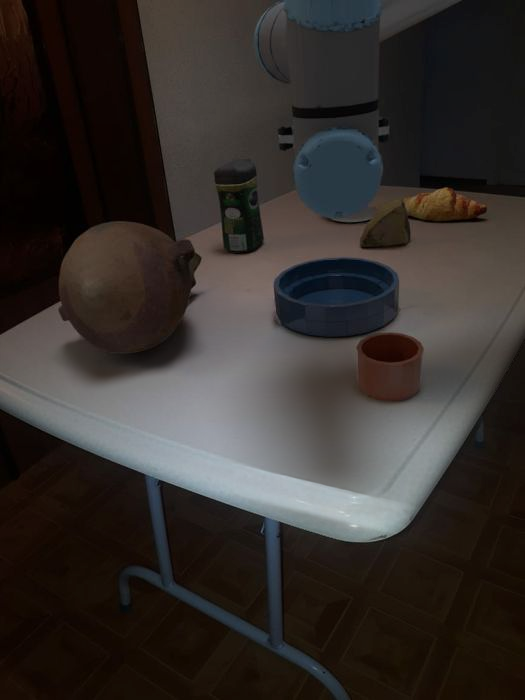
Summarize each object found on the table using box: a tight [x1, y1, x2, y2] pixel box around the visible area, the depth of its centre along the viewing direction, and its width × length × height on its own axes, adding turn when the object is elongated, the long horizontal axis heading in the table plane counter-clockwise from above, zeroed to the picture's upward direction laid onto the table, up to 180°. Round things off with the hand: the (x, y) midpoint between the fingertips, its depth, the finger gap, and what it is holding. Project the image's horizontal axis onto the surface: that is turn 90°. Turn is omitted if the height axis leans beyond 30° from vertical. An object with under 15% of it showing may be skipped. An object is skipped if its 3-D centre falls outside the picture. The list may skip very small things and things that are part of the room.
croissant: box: [403, 186, 488, 222], centre depth 129 cm, size 21×10×8 cm, turn 58°
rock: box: [359, 198, 412, 248], centre depth 117 cm, size 11×9×10 cm
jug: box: [58, 220, 203, 354], centre depth 89 cm, size 20×20×30 cm
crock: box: [355, 331, 425, 402], centre depth 70 cm, size 8×8×6 cm
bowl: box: [273, 256, 400, 338], centre depth 90 cm, size 20×20×6 cm
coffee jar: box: [213, 158, 265, 254], centre depth 120 cm, size 10×8×19 cm
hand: (331, 115), depth 80 cm, fingers closed on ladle, 2 cm apart
